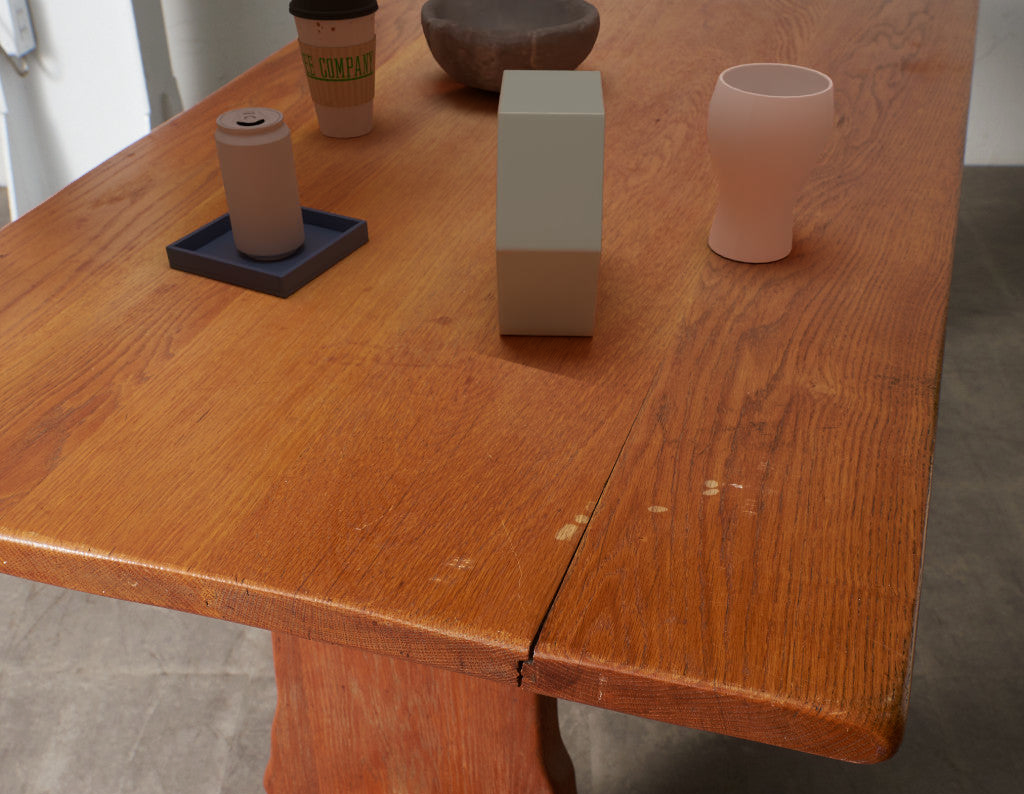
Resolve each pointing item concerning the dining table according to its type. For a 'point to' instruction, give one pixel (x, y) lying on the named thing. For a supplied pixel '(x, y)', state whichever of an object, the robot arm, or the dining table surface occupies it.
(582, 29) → the bowl
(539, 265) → the grey beige box
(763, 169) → the cup
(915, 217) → the dining table surface
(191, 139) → the dining table surface
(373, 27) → the coffee cup
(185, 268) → the tray
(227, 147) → the beverage can
